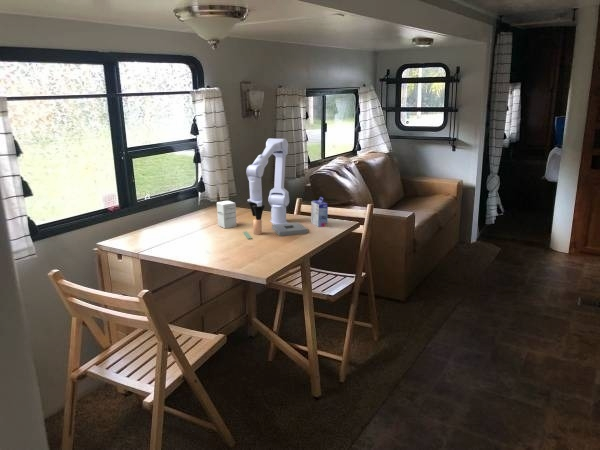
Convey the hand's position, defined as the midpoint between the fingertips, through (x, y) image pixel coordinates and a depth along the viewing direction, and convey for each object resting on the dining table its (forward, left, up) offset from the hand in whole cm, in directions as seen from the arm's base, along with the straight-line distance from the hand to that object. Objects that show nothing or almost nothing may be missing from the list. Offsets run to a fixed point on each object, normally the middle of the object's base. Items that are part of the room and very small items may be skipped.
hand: (256, 217), depth 236 cm
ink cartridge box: (-5, +34, -9) cm, 35 cm away
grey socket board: (+1, +16, -8) cm, 18 cm away
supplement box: (-21, -11, -9) cm, 25 cm away
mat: (0, 0, -8) cm, 8 cm away
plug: (0, 0, -8) cm, 8 cm away
